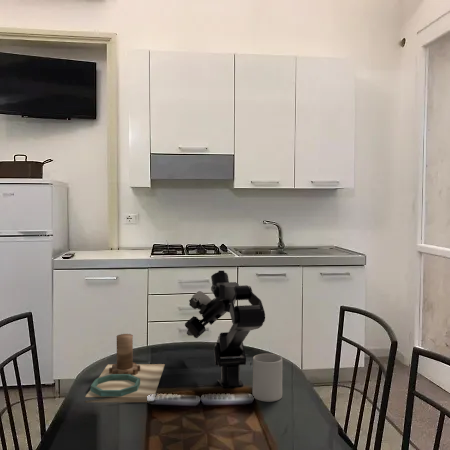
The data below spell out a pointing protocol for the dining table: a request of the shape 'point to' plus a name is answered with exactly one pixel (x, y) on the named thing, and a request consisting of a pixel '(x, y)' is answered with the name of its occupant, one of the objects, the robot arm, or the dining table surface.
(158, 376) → the gear board
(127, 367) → the gear
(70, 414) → the dining table surface
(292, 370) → the dining table surface
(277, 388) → the mug
